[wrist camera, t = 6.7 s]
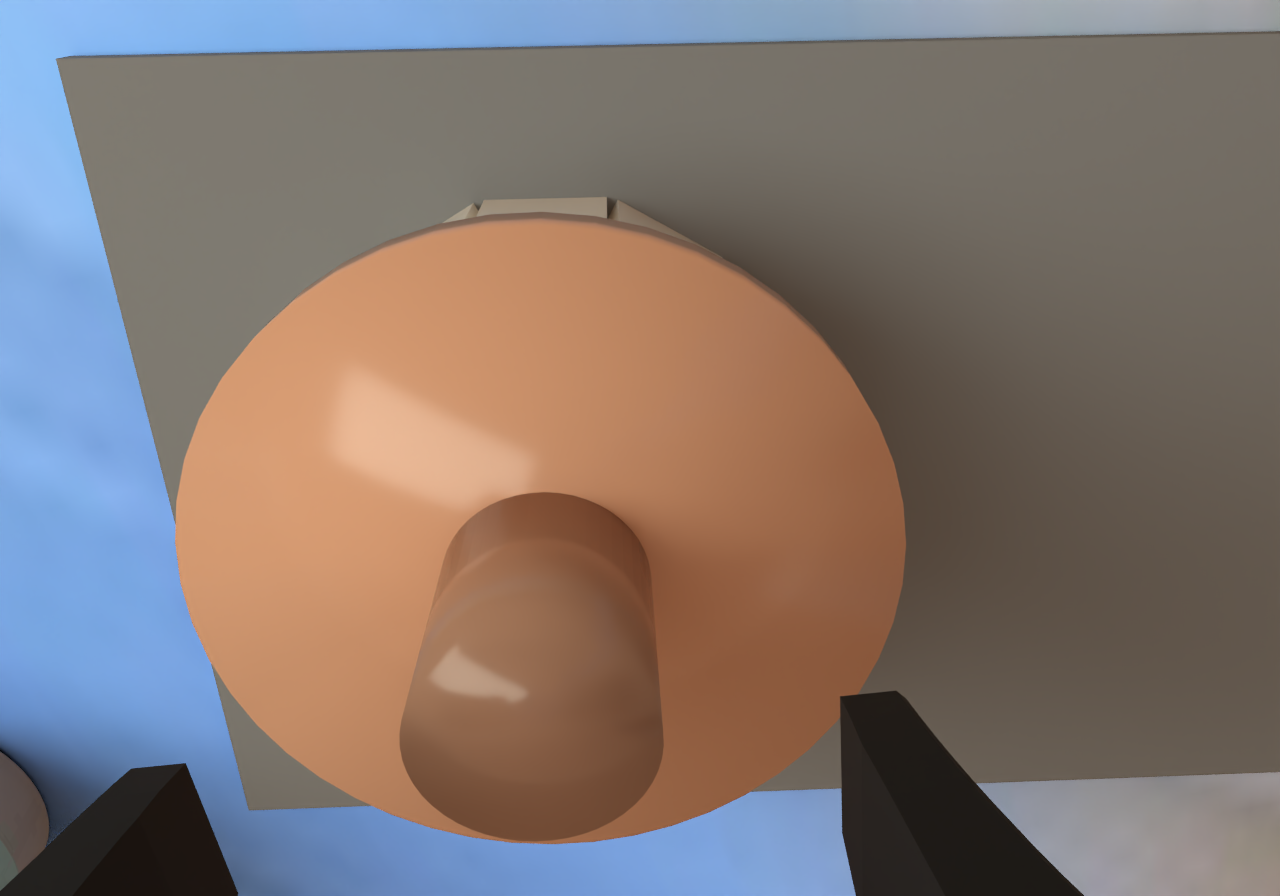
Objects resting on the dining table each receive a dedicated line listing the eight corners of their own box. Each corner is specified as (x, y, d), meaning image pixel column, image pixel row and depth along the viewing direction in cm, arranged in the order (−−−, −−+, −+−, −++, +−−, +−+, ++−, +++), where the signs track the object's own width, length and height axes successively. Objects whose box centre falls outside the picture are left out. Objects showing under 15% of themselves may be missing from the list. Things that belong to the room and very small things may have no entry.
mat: (1668, 23, 18) (1695, 25, 17) (1373, 753, 25) (1387, 768, 25) (70, 56, 17) (55, 58, 17) (255, 794, 25) (249, 810, 24)
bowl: (795, 192, 18) (850, 260, 14) (773, 605, 22) (811, 750, 18) (293, 204, 18) (202, 277, 14) (363, 618, 22) (308, 768, 18)
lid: (1027, 387, 15) (1173, 537, 11) (710, 872, 19) (737, 1101, 15) (304, 75, 13) (175, 128, 9) (128, 703, 17) (-10, 922, 13)
